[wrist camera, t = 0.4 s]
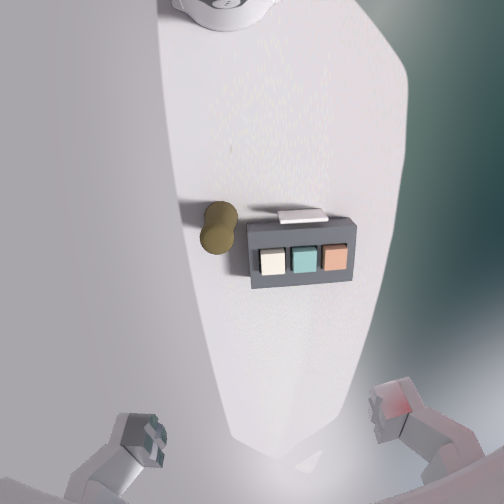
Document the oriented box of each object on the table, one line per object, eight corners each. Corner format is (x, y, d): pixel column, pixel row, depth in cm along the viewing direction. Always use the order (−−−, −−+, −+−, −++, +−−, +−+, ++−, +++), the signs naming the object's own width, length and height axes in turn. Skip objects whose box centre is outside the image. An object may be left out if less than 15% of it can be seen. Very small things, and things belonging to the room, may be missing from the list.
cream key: (260, 247, 54) (260, 254, 51) (282, 245, 54) (284, 252, 51) (261, 267, 56) (262, 275, 53) (283, 265, 56) (285, 273, 53)
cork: (214, 238, 56) (208, 266, 46) (198, 210, 54) (187, 233, 44) (243, 224, 55) (244, 250, 45) (228, 195, 53) (224, 215, 43)
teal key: (291, 245, 54) (293, 252, 51) (313, 243, 54) (317, 250, 51) (291, 265, 56) (293, 273, 53) (312, 263, 56) (316, 271, 53)
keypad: (246, 213, 54) (246, 222, 50) (349, 207, 54) (359, 216, 50) (250, 277, 60) (251, 290, 55) (345, 269, 60) (353, 282, 55)
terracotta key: (321, 243, 54) (325, 250, 51) (342, 241, 54) (347, 248, 51) (320, 262, 56) (324, 270, 53) (341, 261, 56) (346, 269, 53)
